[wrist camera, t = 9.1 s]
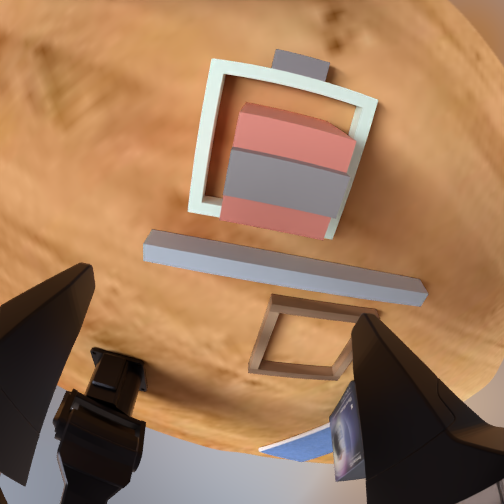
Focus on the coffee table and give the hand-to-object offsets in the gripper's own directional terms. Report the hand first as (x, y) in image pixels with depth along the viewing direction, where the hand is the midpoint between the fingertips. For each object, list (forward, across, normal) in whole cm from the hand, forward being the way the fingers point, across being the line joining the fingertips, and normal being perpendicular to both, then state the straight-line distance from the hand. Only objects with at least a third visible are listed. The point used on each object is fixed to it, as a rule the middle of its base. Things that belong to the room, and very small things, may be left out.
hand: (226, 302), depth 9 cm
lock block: (+11, -2, -3) cm, 12 cm away
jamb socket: (+12, -9, +13) cm, 20 cm away
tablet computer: (+13, -21, +39) cm, 46 cm away
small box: (+12, -20, +24) cm, 34 cm away
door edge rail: (+11, -5, +5) cm, 14 cm away
